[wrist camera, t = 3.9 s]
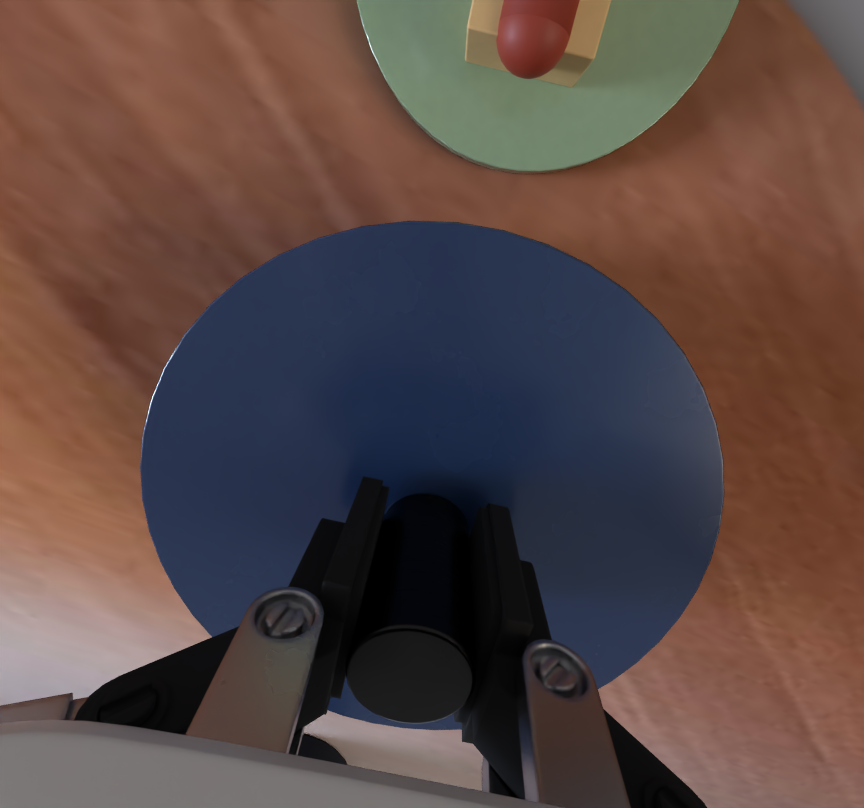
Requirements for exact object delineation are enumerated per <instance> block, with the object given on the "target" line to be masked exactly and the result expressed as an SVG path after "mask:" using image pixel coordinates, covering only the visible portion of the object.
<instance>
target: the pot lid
mask: <svg viewBox="0 0 864 808" xmlns="http://www.w3.org/2000/svg"><path fill="white" fill-rule="evenodd" d="M140 472H141V486H142V500H143V505H144V509H145V514H146V519H147V523H148V528H149V532H150V535H151V537H152V540H153V543H154V546H155V548H156V551H157V554H158V557H159V559H160V562H161V564H162V566H163V567H164V569H165V571H166V573H167V575H168V577H169V579H170V581H171V583H172V585H173V587H174V589H175V590H176V592H177V593H178V594H179V596H180V597H181V599H182V600H183V602H184V603H185V605H186V606H187V608H188V609H189V610H190V612H191V613H192V615H193V616H194V617H195V618H196V619H197V620H198V622H199V623H200V624H201V625H202V626H203V627H204V628H205V630H206V631H207V632H208V633H209V634H210V635H211V636H212V637H214V636H217V635H219V634H222V633H224V632H226V631H229V630H231V629H234V628H236V627H238V626H239V625H240V623H241V621H242V619H243V617H244V615H245V613H246V611H247V609H248V608H249V606H250V605H251V604H252V602H253V601H254V600H255V599H256V598H257V597H259V596H260V595H261V594H263V593H264V592H267V591H269V590H272V589H274V588H280V587H288V586H289V584H290V582H291V580H292V578H293V576H294V574H295V572H296V570H297V567H298V565H299V563H300V561H301V559H302V557H303V555H304V553H305V551H306V549H307V547H308V545H309V543H310V541H311V538H312V536H313V534H314V532H315V530H316V528H317V526H318V524H319V522H320V520H321V519H322V518H325V519H330V520H334V521H339V522H344V523H345V522H346V520H347V517H348V514H349V512H350V509H351V507H352V504H353V502H354V499H355V496H356V494H357V491H358V489H359V486H360V484H361V481H362V478H363V476H365V477H370V478H375V479H379V480H383V485H382V486H386V487H390V489H389V494H388V498H387V503H386V508H385V512H384V517H383V522H382V526H381V530H380V534H379V538H378V542H377V546H376V550H375V554H374V557H373V561H372V565H371V569H370V573H369V577H368V581H367V585H366V589H365V593H364V597H363V601H362V605H361V609H360V612H359V616H358V620H357V624H356V628H355V632H354V636H353V640H352V643H351V645H350V648H349V652H348V656H347V660H346V666H345V673H346V678H345V682H344V686H343V690H342V694H341V698H340V699H339V698H334V697H331V698H330V702H329V706H328V709H327V710H329V711H332V712H335V713H337V714H340V715H343V716H347V717H351V718H355V719H359V720H363V721H366V722H370V723H375V724H381V725H388V726H394V727H400V728H410V729H426V730H456V729H462V723H459V722H455V721H454V713H455V712H457V711H458V710H459V709H461V708H462V707H463V706H464V705H465V704H466V703H467V701H468V700H469V698H470V697H471V695H472V692H473V690H474V688H475V684H476V676H477V675H476V657H475V639H474V621H473V603H472V585H471V567H470V549H469V538H470V535H471V531H472V528H473V525H474V521H475V518H476V515H477V511H478V509H479V507H484V508H486V505H487V504H488V503H490V504H495V505H500V506H504V507H508V508H509V511H510V515H511V520H512V525H513V530H514V534H515V539H516V544H517V548H518V553H519V558H520V560H523V561H528V562H531V563H532V564H533V567H534V570H535V574H536V578H537V582H538V586H539V590H540V594H541V598H542V602H543V606H544V610H545V614H546V618H547V622H548V626H549V630H550V634H551V638H552V640H553V641H556V642H559V643H562V644H564V645H566V646H567V647H569V648H570V649H572V650H574V651H575V652H576V653H577V654H578V655H579V656H580V657H581V658H582V659H583V660H584V661H585V662H586V664H587V665H588V666H589V668H590V669H591V672H592V674H593V676H594V678H595V682H596V685H597V689H599V688H601V687H602V686H604V685H606V684H608V683H609V682H611V681H613V680H614V679H615V678H617V677H618V676H619V675H621V674H622V673H623V672H625V671H626V670H628V669H629V668H630V667H632V666H633V665H634V664H636V663H637V662H638V661H639V660H640V659H641V658H642V657H643V656H645V655H646V654H647V653H648V652H649V651H650V650H651V649H652V648H653V647H654V646H655V645H656V644H657V643H658V642H660V640H661V639H662V638H663V637H664V636H665V634H666V633H667V632H668V631H669V630H670V628H671V627H672V626H673V625H674V624H675V622H676V621H677V620H678V619H679V618H680V616H681V615H682V613H683V612H684V610H685V608H686V607H687V605H688V604H689V602H690V601H691V599H692V597H693V596H694V594H695V593H696V591H697V589H698V587H699V585H700V583H701V581H702V578H703V576H704V574H705V572H706V570H707V567H708V565H709V563H710V561H711V558H712V554H713V551H714V547H715V544H716V540H717V537H718V533H719V530H720V524H721V516H722V508H723V500H724V469H723V455H722V450H721V445H720V440H719V435H718V429H717V424H716V421H715V418H714V415H713V413H712V410H711V407H710V404H709V402H708V399H707V396H706V393H705V391H704V388H703V386H702V384H701V382H700V380H699V379H698V377H697V375H696V373H695V371H694V370H693V368H692V366H691V364H690V362H689V361H688V359H687V357H686V355H685V353H684V352H683V351H682V349H681V348H680V347H679V345H678V344H677V343H676V342H675V340H674V339H673V338H672V337H671V335H670V334H669V333H668V331H667V330H666V329H665V328H664V326H663V325H662V324H661V323H660V321H659V320H658V319H657V318H656V317H655V316H654V315H653V314H652V313H651V312H650V311H648V310H647V309H646V308H645V307H644V306H643V305H642V304H641V303H640V302H639V301H638V300H637V299H636V298H635V297H633V296H632V295H631V294H630V293H629V292H628V291H627V290H626V289H624V288H623V287H621V286H620V285H618V284H617V283H615V282H614V281H613V280H611V279H610V278H608V277H607V276H605V275H604V274H602V273H601V272H599V271H598V270H597V269H595V268H594V267H592V266H591V265H589V264H587V263H585V262H583V261H581V260H579V259H577V258H575V257H573V256H571V255H569V254H567V253H565V252H563V251H560V250H558V249H556V248H554V247H552V246H550V245H548V244H545V243H542V242H539V241H536V240H533V239H529V238H526V237H523V236H520V235H517V234H514V233H511V232H508V231H505V230H499V229H494V228H488V227H482V226H476V225H470V224H464V223H459V222H432V221H404V222H395V223H387V224H378V225H369V226H362V227H358V228H354V229H350V230H347V231H343V232H339V233H335V234H331V235H328V236H324V237H320V238H317V239H315V240H312V241H310V242H308V243H305V244H303V245H301V246H298V247H296V248H294V249H291V250H289V251H287V252H284V253H282V254H280V255H278V256H276V257H274V258H273V259H271V260H269V261H268V262H266V263H265V264H263V265H261V266H260V267H258V268H256V269H255V270H253V271H252V272H250V273H248V274H247V275H245V276H243V277H242V278H241V279H239V280H238V281H237V282H236V283H235V284H234V285H232V286H231V287H230V288H229V289H228V290H226V291H225V292H224V293H223V294H222V295H221V296H219V297H218V298H217V299H216V300H215V301H214V302H212V303H211V304H210V305H209V306H208V308H207V309H206V310H205V311H204V312H203V313H202V315H201V316H200V317H199V318H198V319H197V320H196V321H195V323H194V324H193V325H192V326H191V327H190V328H189V330H188V331H187V332H186V333H185V334H184V336H183V338H182V339H181V341H180V343H179V344H178V346H177V347H176V349H175V351H174V352H173V354H172V356H171V357H170V359H169V360H168V362H167V364H166V365H165V367H164V370H163V372H162V375H161V377H160V379H159V382H158V384H157V387H156V389H155V391H154V394H153V396H152V399H151V402H150V406H149V410H148V414H147V419H146V423H145V427H144V431H143V439H142V451H141V463H140Z"/></svg>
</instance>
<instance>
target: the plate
mask: <svg viewBox="0 0 864 808" xmlns="http://www.w3.org/2000/svg"><path fill="white" fill-rule="evenodd" d="M738 2H739V0H611V3H610V6H609V10H608V13H607V17H606V20H605V24H604V28H603V31H602V35H601V38H600V42H599V45H598V49H597V52H596V56H595V58H594V60H593V61H592V62H591V64H590V65H589V66H588V68H587V69H586V70H585V72H584V73H583V74H582V76H581V77H580V78H579V80H578V81H577V82H576V84H575V85H574V86H573V87H572V88H571V87H567V86H562V85H558V84H554V83H550V82H546V81H542V80H538V79H524V78H520V77H517V76H515V75H513V74H512V73H510V72H506V71H502V70H498V69H494V68H490V67H485V66H481V65H477V64H473V63H469V62H466V61H465V52H466V36H467V24H468V19H469V14H470V9H471V4H472V0H357V4H358V9H359V13H360V17H361V21H362V25H363V28H364V31H365V34H366V37H367V39H368V42H369V45H370V48H371V51H372V53H373V56H374V58H375V60H376V62H377V64H378V66H379V69H380V71H381V73H382V75H383V77H384V79H385V81H386V83H387V85H388V86H389V88H390V89H391V91H392V92H393V94H394V95H395V97H396V99H397V100H398V102H399V103H400V105H401V106H402V107H403V108H404V110H405V111H406V112H407V113H408V114H409V116H410V117H411V118H412V119H413V120H414V122H415V123H416V124H417V125H418V126H419V127H420V128H422V129H423V130H424V131H425V132H426V133H427V134H428V135H429V136H430V137H431V138H432V139H433V140H435V141H436V142H438V143H439V144H441V145H442V146H443V147H445V148H446V149H448V150H449V151H451V152H452V153H454V154H456V155H458V156H460V157H462V158H464V159H466V160H468V161H470V162H472V163H474V164H477V165H480V166H484V167H487V168H490V169H493V170H497V171H503V172H509V173H515V174H543V173H551V172H560V171H564V170H567V169H571V168H575V167H579V166H582V165H585V164H587V163H590V162H592V161H595V160H597V159H599V158H602V157H604V156H606V155H608V154H610V153H611V152H613V151H615V150H617V149H618V148H620V147H622V146H624V145H625V144H627V143H629V142H631V141H632V140H634V139H635V138H636V137H638V136H639V135H640V134H642V133H643V132H644V131H646V130H647V129H648V128H650V127H651V126H652V125H654V124H655V123H656V122H657V121H658V120H659V119H660V118H661V117H662V116H664V115H665V114H666V113H667V112H668V111H669V110H670V109H671V108H672V107H673V106H674V105H675V104H676V103H677V102H678V101H679V99H680V98H681V97H682V96H683V95H684V94H685V92H686V91H687V90H688V89H689V88H690V87H691V86H692V84H693V83H694V82H695V80H696V79H697V78H698V76H699V75H700V73H701V72H702V70H703V69H704V67H705V66H706V65H707V63H708V62H709V60H710V59H711V57H712V55H713V54H714V52H715V50H716V48H717V46H718V45H719V43H720V41H721V39H722V37H723V36H724V34H725V32H726V30H727V28H728V26H729V23H730V21H731V19H732V16H733V14H734V12H735V9H736V7H737V5H738Z"/></svg>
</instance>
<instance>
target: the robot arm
mask: <svg viewBox="0 0 864 808" xmlns="http://www.w3.org/2000/svg"><path fill="white" fill-rule="evenodd" d="M382 485H383V480H379V479H375V478H370V477H365V476H363V478H362V481H361V484H360V486H359V489H358V491H357V494H356V496H355V499H354V502H353V504H352V507H351V509H350V512H349V514H348V517H347V520H346V522H345V523H344V522H339V521H334V520H330V519H325V518H322V519H321V520H320V522H319V524H318V526H317V528H316V530H315V532H314V534H313V536H312V538H311V541H310V543H309V545H308V547H307V549H306V551H305V553H304V555H303V557H302V559H301V561H300V563H299V565H298V567H297V570H296V572H295V574H294V576H293V578H292V580H291V582H290V584H289V586H288V587H280V588H274V589H272V590H269V591H267V592H264V593H263V594H261V595H260V596H259V597H257V598H256V599H255V600H254V601H253V602H252V604H251V605H250V606H249V608H248V609H247V611H246V613H245V615H244V617H243V619H242V621H241V623H240V625H239V626H238V627H236V628H234V629H231V630H229V631H226V632H224V633H222V634H219V635H217V636H214V637H212V638H210V639H207V640H205V641H202V642H200V643H198V644H195V645H193V646H190V647H188V648H186V649H183V650H181V651H178V652H176V653H174V654H171V655H169V656H166V657H164V658H162V659H159V660H157V661H154V662H152V663H150V664H147V665H145V666H142V667H140V668H138V669H135V670H133V671H130V672H128V673H126V674H123V675H121V676H119V677H117V678H115V679H113V680H111V681H109V682H107V683H105V684H104V685H102V686H101V687H100V688H99V689H98V690H96V691H95V692H94V693H93V694H91V695H90V696H89V697H86V698H81V699H75V700H73V693H69V694H63V695H58V696H52V697H47V698H41V699H35V700H30V701H24V702H19V703H13V704H8V705H2V706H0V808H707V807H706V805H705V804H704V802H703V801H702V800H701V799H700V798H699V797H698V796H697V795H696V794H695V793H694V792H693V791H692V790H691V789H690V788H689V787H688V786H687V785H686V784H685V783H684V782H683V781H682V780H680V779H679V778H678V777H677V776H676V775H675V774H674V773H673V772H672V771H671V770H670V769H668V768H667V767H666V766H665V765H664V764H663V763H662V762H661V761H660V760H659V759H658V758H656V757H655V756H654V755H653V754H652V753H651V752H650V751H649V750H648V749H647V748H645V747H644V746H643V745H642V744H641V743H640V742H639V741H638V740H637V739H636V738H635V737H633V736H632V735H631V734H630V733H629V732H628V731H627V730H626V729H625V728H624V727H623V726H621V725H620V724H619V723H618V722H617V721H616V720H615V719H614V718H613V717H612V716H611V715H609V714H608V713H607V712H606V711H605V710H604V709H603V707H602V703H601V699H600V696H599V692H598V689H597V685H596V682H595V678H594V676H593V674H592V672H591V669H590V668H589V666H588V665H587V664H586V662H585V661H584V660H583V659H582V658H581V657H580V656H579V655H578V654H577V653H576V652H575V651H574V650H572V649H570V648H569V647H567V646H566V645H564V644H562V643H559V642H556V641H553V640H552V638H551V634H550V630H549V626H548V622H547V618H546V614H545V610H544V606H543V602H542V598H541V594H540V590H539V586H538V582H537V578H536V574H535V570H534V567H533V564H532V563H531V562H528V561H523V560H520V558H519V553H518V548H517V544H516V539H515V534H514V530H513V525H512V520H511V515H510V511H509V508H508V507H504V506H500V505H495V504H490V503H488V504H487V505H486V508H484V507H479V509H478V511H477V515H476V518H475V521H474V525H473V528H472V531H471V535H470V538H469V549H470V567H471V585H472V603H473V621H474V639H475V657H476V675H477V676H476V684H475V688H474V690H473V692H472V695H471V697H470V698H469V700H468V701H467V703H466V704H465V705H464V706H463V707H462V708H461V709H459V710H458V711H457V712H455V713H454V721H455V722H459V723H462V742H467V743H472V744H474V745H475V746H476V748H477V749H478V750H479V751H480V753H481V754H482V755H483V762H482V791H478V790H473V789H468V788H463V787H457V786H452V785H447V784H442V783H437V782H432V781H427V780H422V779H417V778H411V777H406V776H401V775H396V774H391V773H386V772H380V771H375V770H370V769H365V768H360V767H355V766H350V765H344V764H339V763H334V762H328V761H323V760H318V759H312V758H307V757H302V756H297V755H298V752H299V748H300V744H301V740H302V736H303V732H304V726H306V725H308V724H309V723H311V722H312V721H314V720H315V719H317V718H319V717H320V716H322V715H323V714H326V713H327V709H328V706H329V702H330V698H331V697H334V698H339V699H340V698H341V694H342V690H343V686H344V682H345V678H346V673H345V666H346V660H347V656H348V652H349V648H350V645H351V643H352V640H353V636H354V632H355V628H356V624H357V620H358V616H359V612H360V609H361V605H362V601H363V597H364V593H365V589H366V585H367V581H368V577H369V573H370V569H371V565H372V561H373V557H374V554H375V550H376V546H377V542H378V538H379V534H380V530H381V526H382V522H383V517H384V512H385V508H386V503H387V498H388V494H389V489H390V487H386V486H382Z"/></svg>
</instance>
